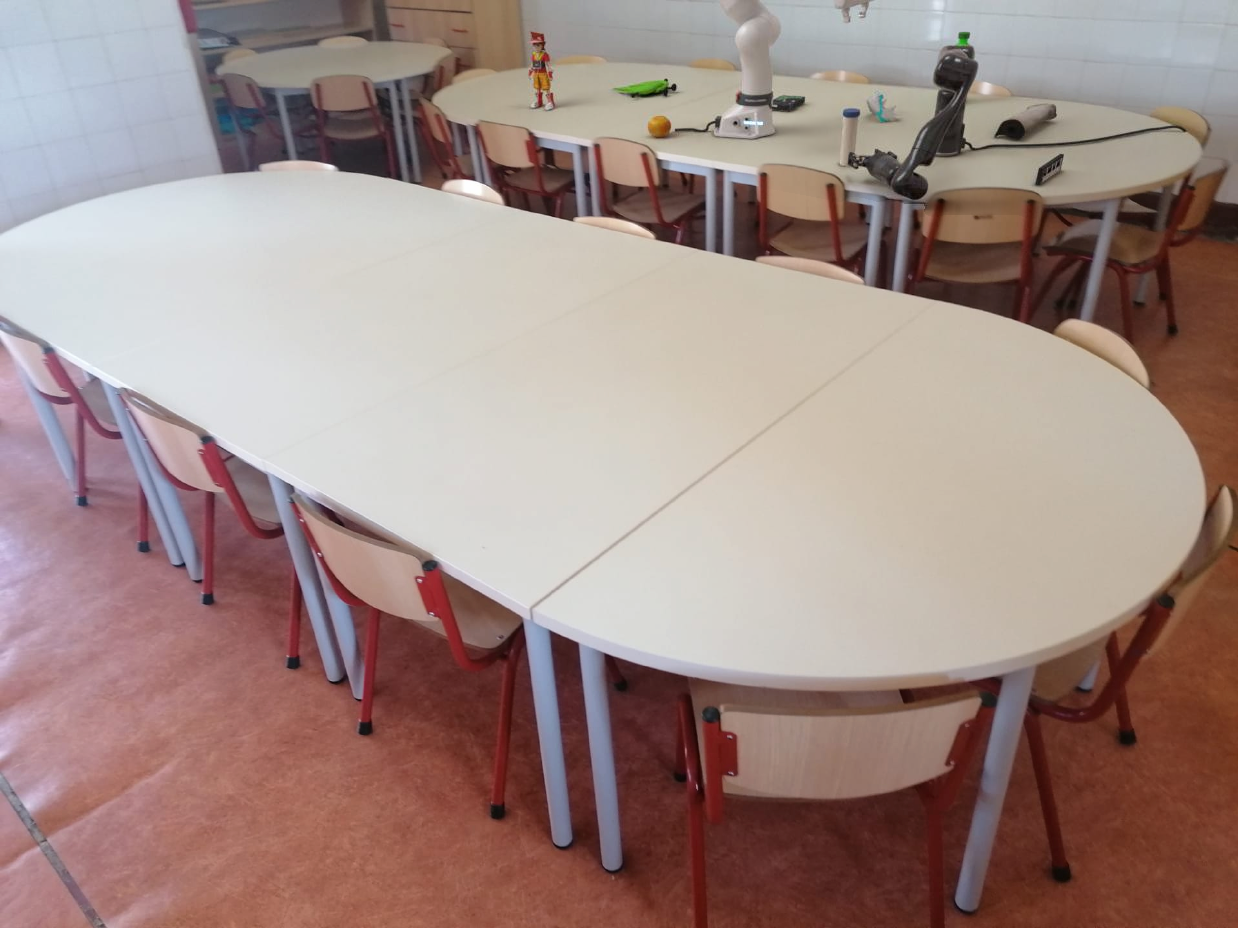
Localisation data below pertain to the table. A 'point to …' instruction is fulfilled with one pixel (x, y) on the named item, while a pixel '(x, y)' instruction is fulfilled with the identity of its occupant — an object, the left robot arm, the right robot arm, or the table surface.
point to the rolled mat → (1026, 121)
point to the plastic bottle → (964, 39)
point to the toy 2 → (648, 88)
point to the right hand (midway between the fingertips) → (862, 153)
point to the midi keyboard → (1049, 169)
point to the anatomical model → (880, 107)
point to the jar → (848, 138)
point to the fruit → (659, 126)
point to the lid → (851, 112)
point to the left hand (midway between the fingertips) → (854, 20)
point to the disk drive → (787, 102)
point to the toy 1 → (541, 71)
